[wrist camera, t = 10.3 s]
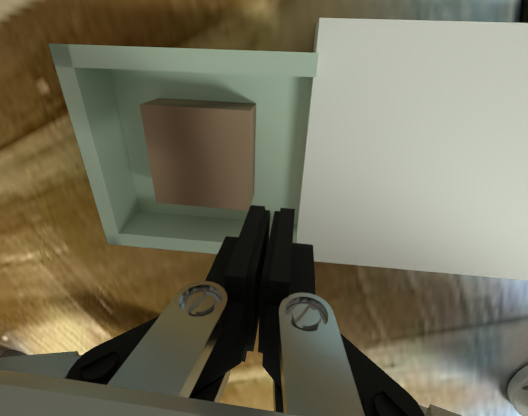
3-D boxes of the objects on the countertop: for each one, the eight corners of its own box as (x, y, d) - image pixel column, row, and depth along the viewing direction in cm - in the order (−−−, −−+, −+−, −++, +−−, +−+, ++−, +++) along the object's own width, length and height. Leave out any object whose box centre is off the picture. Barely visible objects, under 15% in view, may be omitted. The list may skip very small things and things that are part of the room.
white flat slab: (657, 32, 15) (734, 28, 12) (521, 255, 22) (551, 282, 19) (315, 23, 16) (319, 17, 14) (294, 236, 23) (294, 259, 21)
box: (312, 53, 17) (318, 52, 13) (295, 221, 23) (295, 261, 18) (108, 46, 18) (48, 43, 13) (142, 209, 24) (107, 244, 19)
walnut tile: (256, 103, 17) (250, 110, 15) (254, 193, 20) (248, 210, 17) (159, 97, 17) (139, 104, 15) (171, 186, 20) (156, 202, 18)
